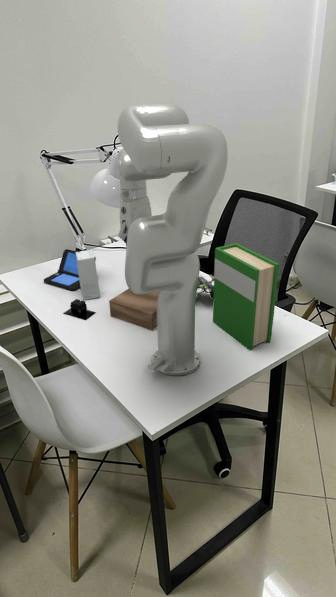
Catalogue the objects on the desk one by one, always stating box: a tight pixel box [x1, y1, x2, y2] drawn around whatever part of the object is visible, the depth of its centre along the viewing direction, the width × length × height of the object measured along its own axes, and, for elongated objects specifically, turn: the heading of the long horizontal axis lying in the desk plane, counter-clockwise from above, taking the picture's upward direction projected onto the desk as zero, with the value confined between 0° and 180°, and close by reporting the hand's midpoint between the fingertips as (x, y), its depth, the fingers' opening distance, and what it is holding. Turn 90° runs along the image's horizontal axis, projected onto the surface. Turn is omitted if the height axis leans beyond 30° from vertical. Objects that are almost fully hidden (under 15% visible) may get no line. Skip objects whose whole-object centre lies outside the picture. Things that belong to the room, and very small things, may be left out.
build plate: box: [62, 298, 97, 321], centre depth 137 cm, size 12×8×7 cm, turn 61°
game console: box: [43, 248, 97, 292], centre depth 157 cm, size 16×14×9 cm
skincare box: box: [76, 249, 101, 301], centre depth 146 cm, size 8×6×15 cm
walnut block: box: [108, 288, 161, 332], centre depth 136 cm, size 16×16×6 cm
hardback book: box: [212, 242, 280, 352], centre depth 120 cm, size 18×7×24 cm, turn 29°
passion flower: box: [195, 274, 214, 301], centre depth 141 cm, size 11×11×12 cm
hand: (137, 252), depth 132 cm, fingers closed on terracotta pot, 5 cm apart
